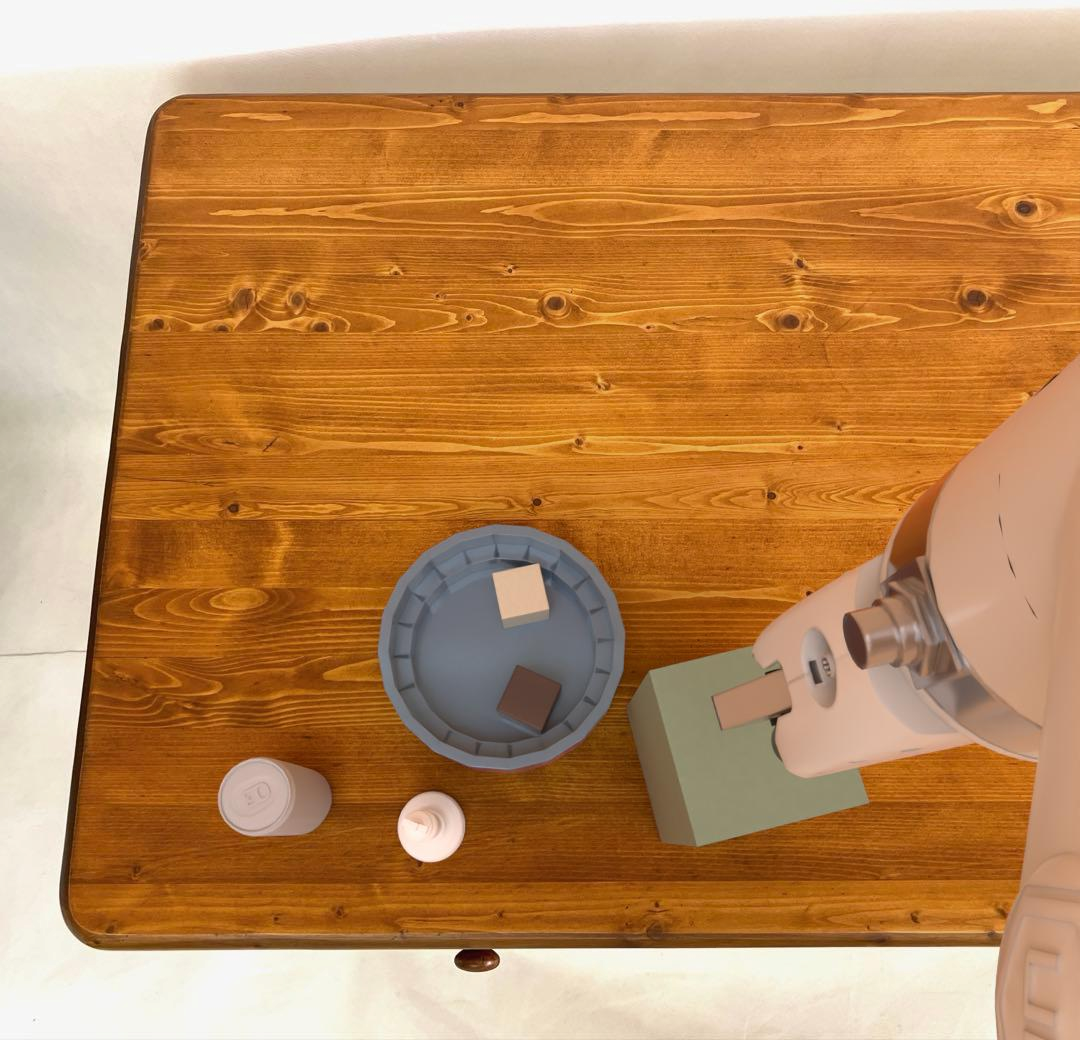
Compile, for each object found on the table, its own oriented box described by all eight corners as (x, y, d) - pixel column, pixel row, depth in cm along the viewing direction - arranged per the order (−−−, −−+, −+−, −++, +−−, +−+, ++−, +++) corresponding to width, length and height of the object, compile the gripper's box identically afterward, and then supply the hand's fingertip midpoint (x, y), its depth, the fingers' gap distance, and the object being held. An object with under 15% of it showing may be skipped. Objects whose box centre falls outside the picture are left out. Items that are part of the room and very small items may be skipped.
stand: (793, 809, 72) (870, 802, 54) (661, 842, 71) (697, 846, 54) (752, 676, 75) (813, 630, 57) (625, 707, 74) (648, 670, 57)
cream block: (549, 619, 75) (549, 608, 72) (503, 628, 75) (501, 619, 72) (539, 574, 76) (539, 562, 73) (494, 584, 76) (491, 573, 73)
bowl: (645, 741, 73) (653, 734, 68) (415, 798, 72) (404, 796, 67) (587, 523, 78) (590, 501, 73) (371, 573, 77) (358, 554, 72)
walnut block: (542, 735, 73) (541, 731, 69) (498, 715, 73) (495, 710, 70) (561, 691, 74) (562, 684, 70) (518, 671, 74) (516, 664, 71)
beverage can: (258, 786, 72) (203, 778, 61) (318, 755, 73) (275, 742, 62) (283, 847, 71) (232, 850, 60) (344, 815, 72) (305, 813, 60)
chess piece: (451, 871, 70) (436, 878, 61) (387, 848, 71) (362, 851, 61) (474, 804, 72) (463, 800, 62) (412, 782, 72) (391, 774, 63)
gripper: (775, 845, 21) (672, 837, 39) (1465, 668, 22) (1058, 739, 40) (679, 520, 23) (623, 653, 41) (1310, 373, 24) (989, 564, 42)
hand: (838, 695), depth 40 cm, fingers closed on stirring stick, 2 cm apart
